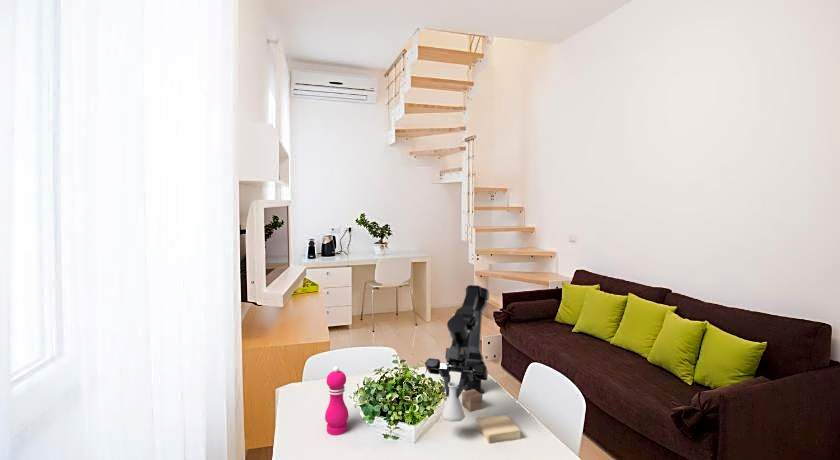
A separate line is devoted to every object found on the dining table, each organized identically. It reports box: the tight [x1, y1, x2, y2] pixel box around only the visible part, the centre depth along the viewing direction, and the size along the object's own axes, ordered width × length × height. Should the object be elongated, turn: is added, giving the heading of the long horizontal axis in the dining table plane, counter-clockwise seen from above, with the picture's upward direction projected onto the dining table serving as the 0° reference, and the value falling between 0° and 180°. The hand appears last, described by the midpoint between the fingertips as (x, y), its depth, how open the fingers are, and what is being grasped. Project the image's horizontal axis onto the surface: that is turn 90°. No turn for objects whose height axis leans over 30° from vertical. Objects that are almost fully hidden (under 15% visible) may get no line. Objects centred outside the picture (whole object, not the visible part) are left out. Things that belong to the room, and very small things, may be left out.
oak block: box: [475, 414, 522, 445], centre depth 125 cm, size 10×10×3 cm
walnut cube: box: [461, 389, 483, 413], centre depth 141 cm, size 5×5×5 cm
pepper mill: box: [324, 365, 350, 436], centre depth 127 cm, size 7×7×20 cm
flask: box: [441, 381, 466, 423], centre depth 123 cm, size 7×7×10 cm
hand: (452, 396), depth 121 cm, fingers closed on flask, 3 cm apart
